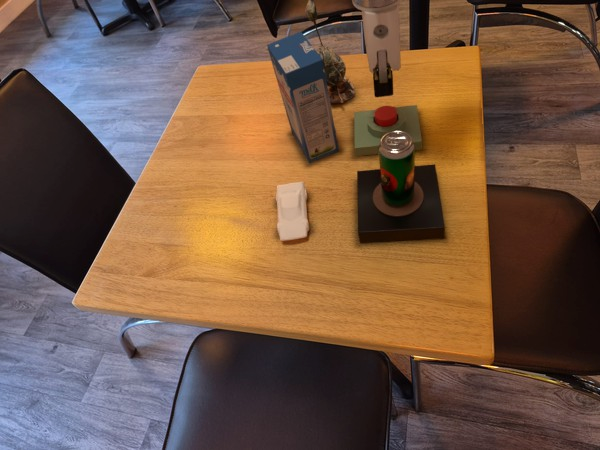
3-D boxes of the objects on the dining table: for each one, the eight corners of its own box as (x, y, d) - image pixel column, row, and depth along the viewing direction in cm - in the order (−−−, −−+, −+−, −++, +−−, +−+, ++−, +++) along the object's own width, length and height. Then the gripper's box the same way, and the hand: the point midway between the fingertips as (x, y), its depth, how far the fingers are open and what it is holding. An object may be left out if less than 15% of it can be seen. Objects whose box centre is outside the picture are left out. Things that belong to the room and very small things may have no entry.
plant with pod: (317, 114, 91) (297, 24, 76) (318, 80, 98) (300, -9, 82) (356, 109, 90) (344, 16, 74) (354, 75, 97) (343, -17, 81)
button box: (416, 113, 86) (417, 97, 82) (421, 150, 80) (422, 133, 77) (355, 120, 88) (353, 104, 85) (355, 156, 82) (353, 140, 79)
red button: (396, 111, 82) (396, 104, 80) (397, 126, 79) (397, 118, 78) (374, 114, 83) (374, 106, 81) (375, 128, 80) (374, 121, 79)
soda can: (412, 209, 68) (412, 155, 59) (379, 206, 70) (374, 153, 61) (416, 185, 71) (417, 129, 62) (384, 182, 73) (381, 128, 63)
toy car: (279, 246, 74) (274, 235, 71) (278, 192, 81) (273, 180, 78) (311, 241, 73) (307, 229, 70) (307, 187, 80) (303, 175, 77)
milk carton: (339, 151, 84) (322, 59, 68) (309, 163, 83) (285, 74, 68) (319, 121, 90) (300, 30, 74) (292, 133, 90) (266, 44, 74)
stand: (434, 176, 76) (435, 162, 73) (443, 238, 68) (445, 226, 66) (358, 182, 78) (356, 169, 76) (359, 243, 71) (357, 231, 68)
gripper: (409, 11, 57) (409, 120, 71) (401, -42, 65) (402, 65, 80) (351, 20, 58) (362, 125, 73) (351, -33, 67) (361, 70, 81)
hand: (383, 93), depth 76 cm, fingers closed
